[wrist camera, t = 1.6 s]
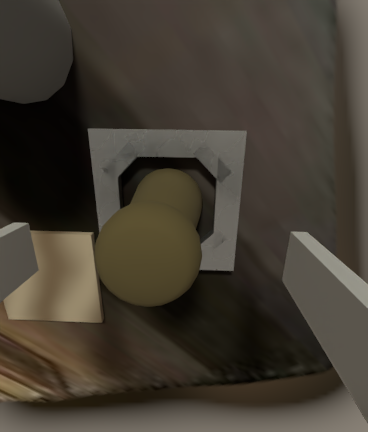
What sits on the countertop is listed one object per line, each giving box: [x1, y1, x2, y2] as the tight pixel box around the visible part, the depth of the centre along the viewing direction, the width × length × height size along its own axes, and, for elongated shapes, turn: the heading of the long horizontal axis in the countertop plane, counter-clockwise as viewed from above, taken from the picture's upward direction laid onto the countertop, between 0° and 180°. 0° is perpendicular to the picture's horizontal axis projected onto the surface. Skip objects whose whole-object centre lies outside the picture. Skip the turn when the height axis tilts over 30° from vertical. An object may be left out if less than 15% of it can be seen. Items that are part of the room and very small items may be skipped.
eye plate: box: [88, 129, 247, 271], centre depth 20 cm, size 12×12×1 cm
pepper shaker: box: [94, 168, 203, 307], centre depth 15 cm, size 6×6×11 cm
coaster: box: [3, 231, 104, 323], centre depth 23 cm, size 10×10×1 cm
